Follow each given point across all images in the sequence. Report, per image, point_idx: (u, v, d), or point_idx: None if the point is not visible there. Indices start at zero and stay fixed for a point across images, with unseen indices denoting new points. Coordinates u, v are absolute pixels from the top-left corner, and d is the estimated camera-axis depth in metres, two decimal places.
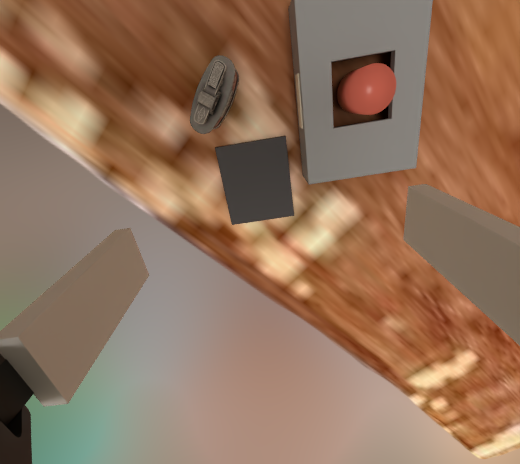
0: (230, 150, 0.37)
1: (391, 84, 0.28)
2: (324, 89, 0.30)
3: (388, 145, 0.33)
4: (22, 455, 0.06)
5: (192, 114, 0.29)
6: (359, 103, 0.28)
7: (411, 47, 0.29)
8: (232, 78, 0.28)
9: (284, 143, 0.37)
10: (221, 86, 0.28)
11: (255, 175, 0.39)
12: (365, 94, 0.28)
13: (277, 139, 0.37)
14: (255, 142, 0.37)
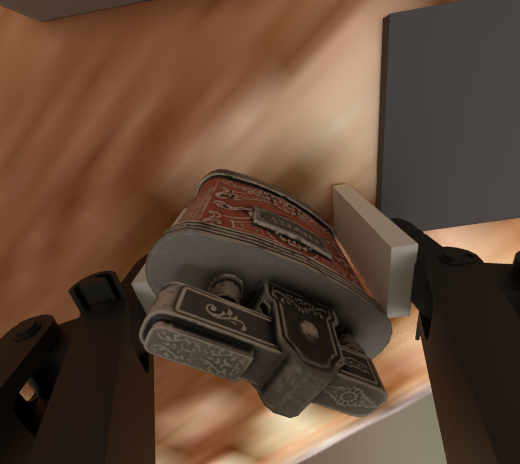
0: (393, 199, 0.14)
1: None
2: None
3: None
4: (148, 390, 0.07)
5: None
6: None
7: None
8: (215, 240, 0.07)
9: (413, 17, 0.10)
10: (244, 278, 0.07)
11: (486, 128, 0.12)
12: None
13: (394, 47, 0.11)
14: (388, 127, 0.12)
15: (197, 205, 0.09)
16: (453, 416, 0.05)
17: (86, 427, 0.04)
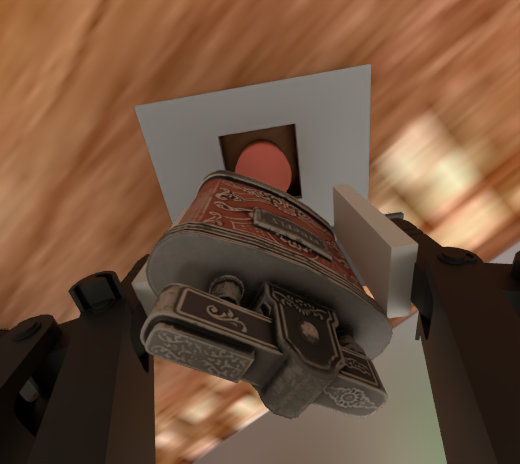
0: None
1: (256, 154, 0.21)
2: None
3: (330, 119, 0.23)
4: (148, 390, 0.07)
5: None
6: None
7: (213, 115, 0.23)
8: (215, 242, 0.07)
9: None
10: (244, 279, 0.07)
11: None
12: None
13: None
14: None
15: (198, 206, 0.09)
16: (453, 416, 0.05)
17: (86, 427, 0.04)
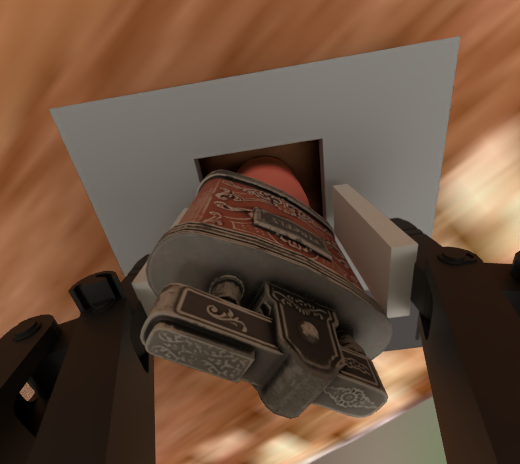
0: None
1: None
2: None
3: (381, 132, 0.14)
4: (148, 390, 0.07)
5: None
6: None
7: (186, 125, 0.14)
8: (215, 242, 0.07)
9: None
10: (244, 279, 0.08)
11: None
12: None
13: None
14: None
15: (198, 206, 0.09)
16: (453, 416, 0.05)
17: (86, 427, 0.04)
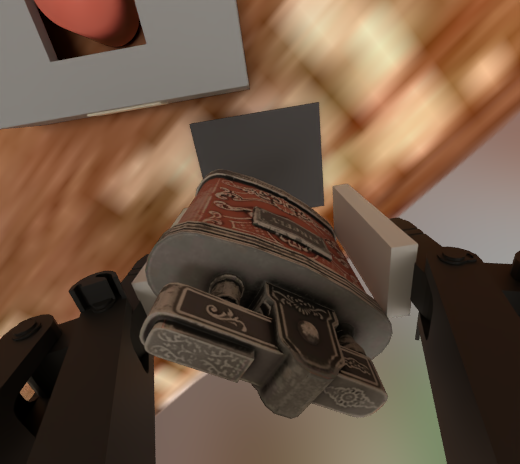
0: None
1: None
2: (91, 69, 0.19)
3: None
4: (148, 390, 0.07)
5: None
6: (93, 8, 0.17)
7: None
8: (215, 241, 0.07)
9: (199, 125, 0.25)
10: (244, 279, 0.07)
11: (249, 169, 0.26)
12: None
13: (195, 136, 0.25)
14: (202, 169, 0.26)
15: (197, 205, 0.09)
16: (453, 416, 0.05)
17: (86, 427, 0.04)
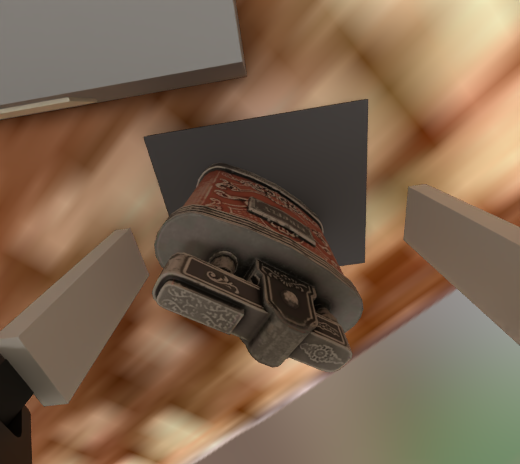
0: None
1: None
2: None
3: None
4: (22, 455, 0.06)
5: None
6: None
7: None
8: (215, 222, 0.08)
9: (161, 139, 0.14)
10: (238, 255, 0.09)
11: None
12: None
13: (154, 157, 0.15)
14: (169, 209, 0.16)
15: (200, 193, 0.11)
16: None
17: None
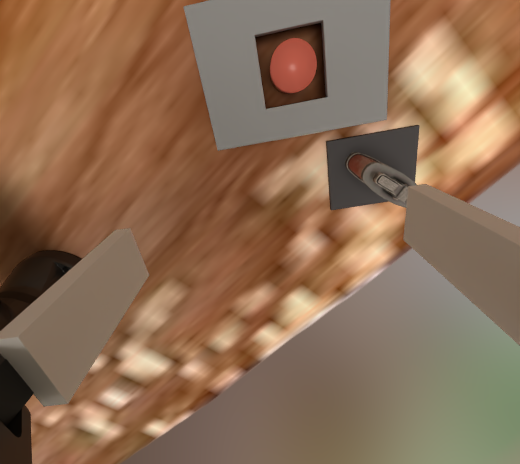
0: (334, 196, 0.39)
1: (289, 45, 0.27)
2: (289, 113, 0.30)
3: (354, 15, 0.26)
4: (21, 456, 0.06)
5: (403, 205, 0.32)
6: (305, 79, 0.28)
7: (251, 14, 0.26)
8: (383, 165, 0.30)
9: (334, 142, 0.36)
10: None
11: None
12: (297, 74, 0.28)
13: (329, 150, 0.36)
14: (330, 172, 0.38)
15: (366, 160, 0.32)
16: None
17: None
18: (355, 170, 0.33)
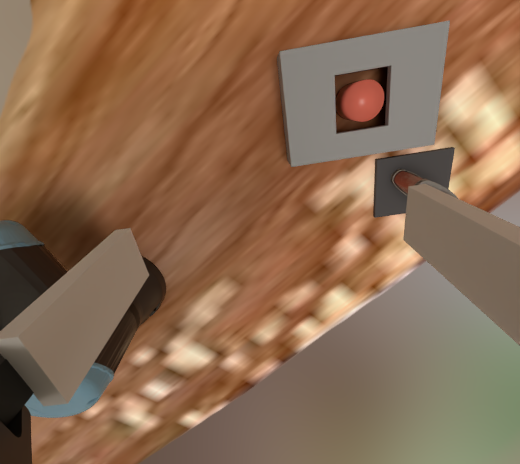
0: (379, 205, 0.45)
1: (363, 84, 0.33)
2: (355, 137, 0.36)
3: (416, 62, 0.33)
4: (22, 455, 0.06)
5: None
6: (373, 111, 0.34)
7: (334, 59, 0.32)
8: (432, 182, 0.36)
9: (382, 160, 0.42)
10: None
11: None
12: (367, 107, 0.34)
13: (378, 166, 0.42)
14: (377, 185, 0.44)
15: (415, 177, 0.38)
16: None
17: None
18: (404, 185, 0.40)
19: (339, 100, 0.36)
